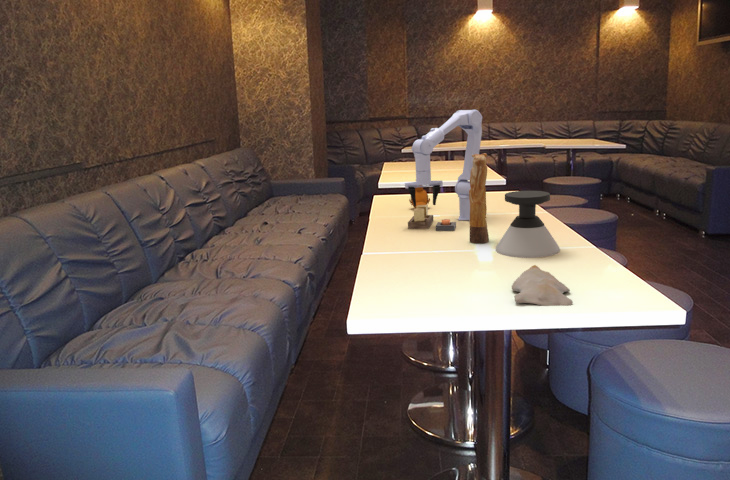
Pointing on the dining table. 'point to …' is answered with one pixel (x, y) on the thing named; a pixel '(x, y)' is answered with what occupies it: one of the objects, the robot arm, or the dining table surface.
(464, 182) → the robot arm
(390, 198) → the dining table surface
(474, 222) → the sculpture
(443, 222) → the button
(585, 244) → the dining table surface
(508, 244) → the light fixture
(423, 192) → the toy
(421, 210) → the block
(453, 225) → the button housing
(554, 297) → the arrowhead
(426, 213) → the block
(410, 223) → the brown compartment tray
